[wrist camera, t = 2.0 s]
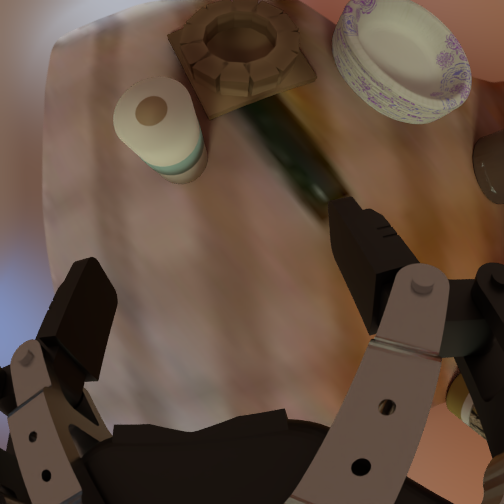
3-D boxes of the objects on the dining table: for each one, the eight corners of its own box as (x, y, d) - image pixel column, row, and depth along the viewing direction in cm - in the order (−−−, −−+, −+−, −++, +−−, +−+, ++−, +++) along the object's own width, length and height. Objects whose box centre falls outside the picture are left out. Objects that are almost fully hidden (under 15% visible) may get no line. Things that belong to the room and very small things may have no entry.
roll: (195, 126, 28) (175, 63, 16) (216, 170, 29) (206, 125, 17) (148, 148, 28) (102, 99, 16) (168, 193, 29) (127, 165, 17)
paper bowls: (321, 14, 29) (339, -27, 21) (427, 47, 30) (457, 19, 22) (322, 118, 29) (348, 84, 21) (441, 147, 30) (483, 129, 22)
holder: (264, 7, 28) (268, -14, 24) (314, 81, 29) (324, 63, 25) (168, 39, 28) (162, 19, 24) (209, 120, 29) (206, 104, 25)
